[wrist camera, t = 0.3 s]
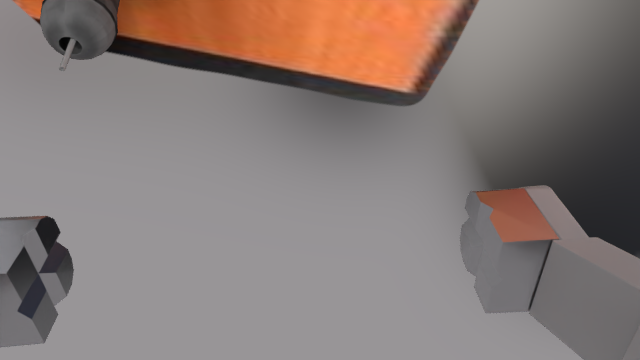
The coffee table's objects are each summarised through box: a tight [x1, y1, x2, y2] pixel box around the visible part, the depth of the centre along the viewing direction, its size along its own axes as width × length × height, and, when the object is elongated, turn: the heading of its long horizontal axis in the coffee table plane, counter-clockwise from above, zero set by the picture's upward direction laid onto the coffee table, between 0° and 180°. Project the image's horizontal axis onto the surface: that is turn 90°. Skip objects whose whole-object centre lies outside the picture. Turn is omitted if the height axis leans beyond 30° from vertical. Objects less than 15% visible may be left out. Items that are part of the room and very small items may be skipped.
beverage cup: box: [40, 0, 120, 71], centre depth 52 cm, size 7×7×20 cm
